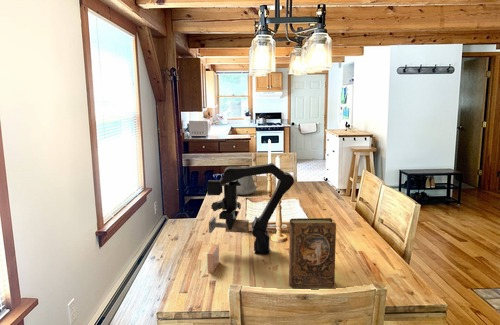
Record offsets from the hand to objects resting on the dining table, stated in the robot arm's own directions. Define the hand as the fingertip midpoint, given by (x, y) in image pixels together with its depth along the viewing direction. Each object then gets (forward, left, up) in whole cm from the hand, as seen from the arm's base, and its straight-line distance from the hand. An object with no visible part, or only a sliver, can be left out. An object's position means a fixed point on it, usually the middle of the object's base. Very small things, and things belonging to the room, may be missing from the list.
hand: (230, 228), depth 168 cm
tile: (+4, +16, -11) cm, 20 cm away
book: (-36, +25, -12) cm, 45 cm away
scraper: (0, 0, -1) cm, 1 cm away
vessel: (+14, -109, -12) cm, 110 cm away
